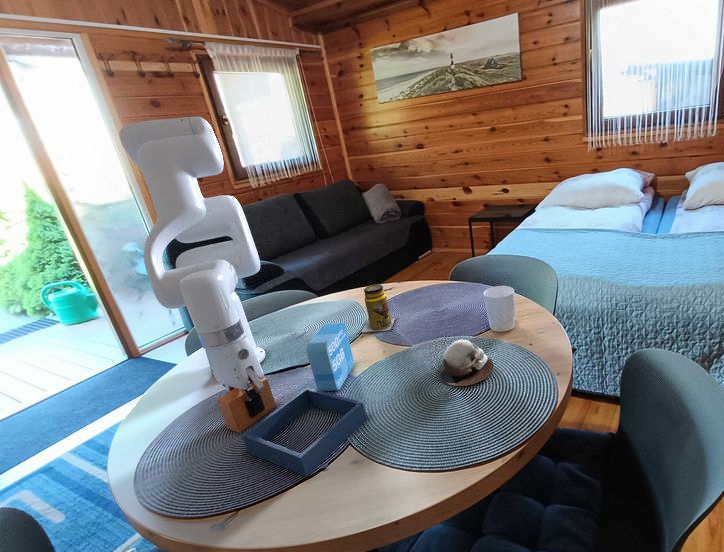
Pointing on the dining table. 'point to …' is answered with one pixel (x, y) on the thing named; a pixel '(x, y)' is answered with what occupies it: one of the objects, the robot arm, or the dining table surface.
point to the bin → (321, 447)
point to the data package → (330, 356)
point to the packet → (243, 407)
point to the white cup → (500, 307)
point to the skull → (465, 364)
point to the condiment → (377, 309)
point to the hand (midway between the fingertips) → (250, 410)
